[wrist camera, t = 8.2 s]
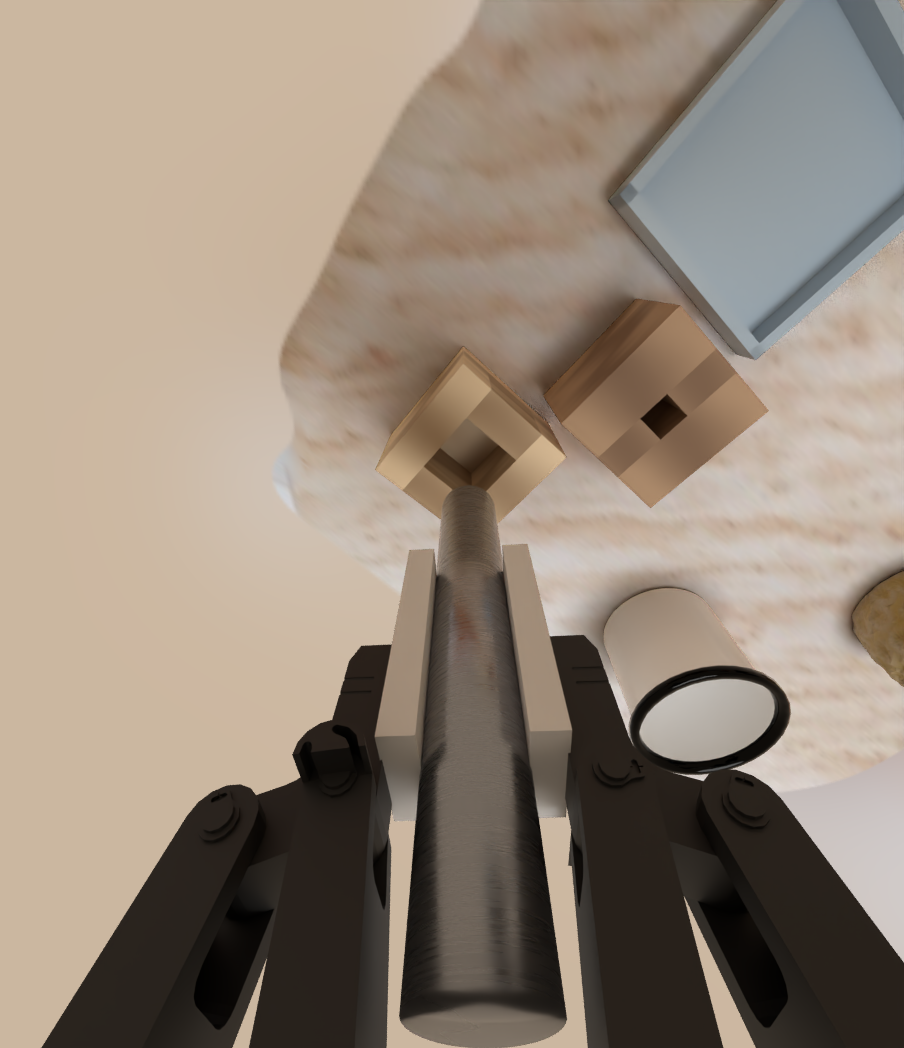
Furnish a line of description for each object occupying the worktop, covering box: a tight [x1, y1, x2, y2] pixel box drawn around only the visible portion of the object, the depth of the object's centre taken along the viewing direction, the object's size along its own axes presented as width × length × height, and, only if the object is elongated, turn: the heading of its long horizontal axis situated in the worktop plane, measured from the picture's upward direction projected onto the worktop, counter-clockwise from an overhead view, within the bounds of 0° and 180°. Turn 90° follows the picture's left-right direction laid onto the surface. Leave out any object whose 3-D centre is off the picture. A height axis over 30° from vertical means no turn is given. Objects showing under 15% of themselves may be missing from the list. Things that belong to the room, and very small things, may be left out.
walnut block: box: [543, 299, 769, 508], centre depth 25 cm, size 7×7×6 cm
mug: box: [603, 588, 791, 775], centre depth 33 cm, size 12×10×9 cm
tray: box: [608, 0, 904, 360], centre depth 22 cm, size 11×11×2 cm
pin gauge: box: [399, 485, 567, 1048], centre depth 13 cm, size 2×2×15 cm
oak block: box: [375, 346, 566, 524], centre depth 27 cm, size 7×7×6 cm
